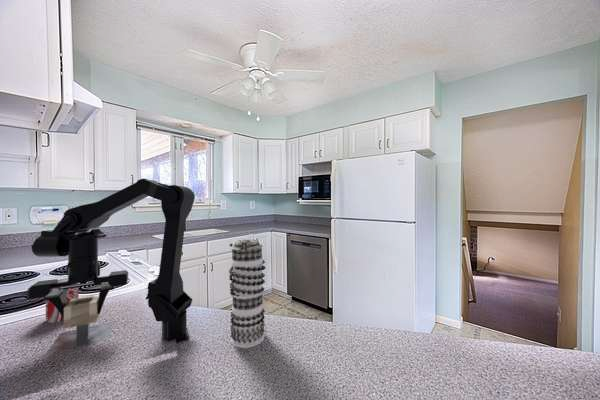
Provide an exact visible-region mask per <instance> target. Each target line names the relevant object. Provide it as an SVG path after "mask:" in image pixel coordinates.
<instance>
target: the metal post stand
mask: <svg viewBox="0 0 600 400" xmlns="http://www.w3.org/2000/svg"><path fill="white" fill-rule="evenodd" d="M113 323H114V321H110V322H105V323H101V324H96V325H91V323H89V324H84V325H80V326H76V329H74V330H69V331H64V332H61V333H59V335H58V336H57V337H56V339H55V340H54V342H53V343H52V345H50V347H49V349H48V350H47V352H46V353H45V356H46V355H51V354H54V353H58V352H62V351H67V350H71V349H74V348H79V347H82V346H83V347H84V346H88V345H91V344H96V343H99V342H103V341H107V340H108V338H109V335H110V332H111V330H112V327H113Z"/></svg>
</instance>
